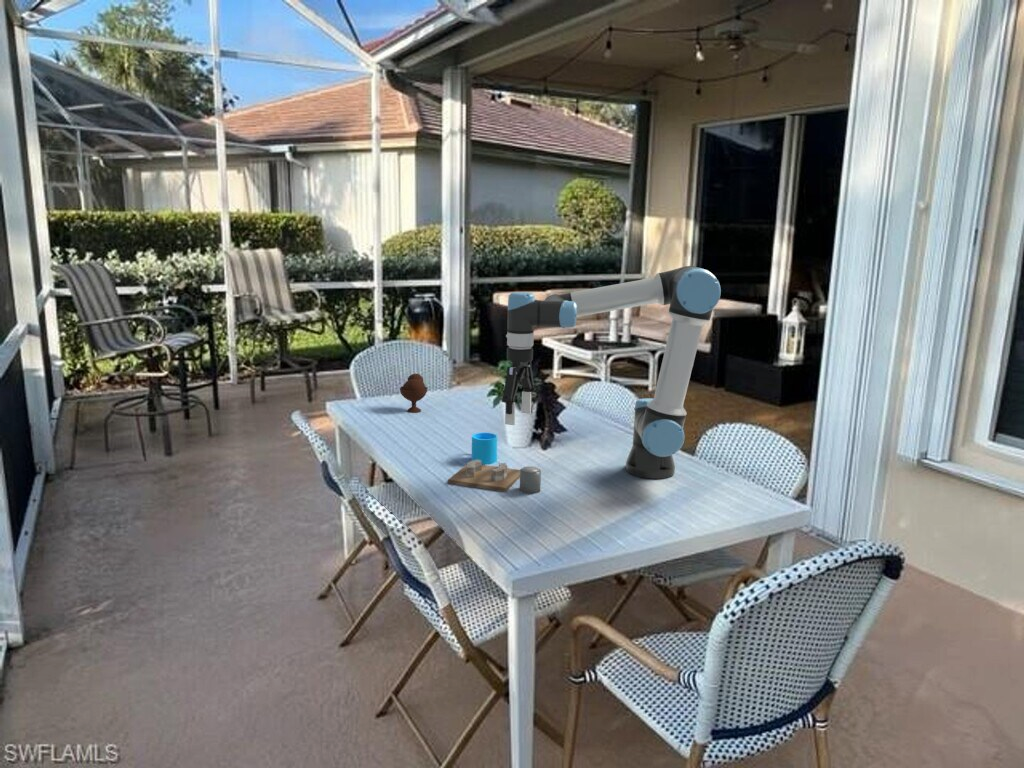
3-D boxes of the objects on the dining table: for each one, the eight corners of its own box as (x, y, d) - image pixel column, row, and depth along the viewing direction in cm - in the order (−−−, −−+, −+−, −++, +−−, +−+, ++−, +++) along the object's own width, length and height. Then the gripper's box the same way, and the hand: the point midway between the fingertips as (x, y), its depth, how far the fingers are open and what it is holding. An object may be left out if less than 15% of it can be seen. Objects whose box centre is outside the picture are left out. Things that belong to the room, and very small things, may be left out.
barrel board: (523, 474, 229) (523, 461, 228) (505, 491, 214) (506, 477, 213) (468, 466, 234) (468, 453, 233) (448, 483, 219) (448, 469, 218)
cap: (542, 488, 217) (543, 467, 216) (536, 495, 212) (537, 473, 210) (523, 485, 219) (523, 464, 218) (516, 492, 214) (517, 471, 212)
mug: (500, 462, 239) (501, 438, 237) (477, 465, 235) (477, 441, 233) (486, 451, 249) (486, 428, 247) (463, 454, 246) (463, 430, 244)
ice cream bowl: (397, 408, 300) (397, 372, 297) (425, 406, 304) (425, 370, 300) (402, 415, 290) (401, 377, 287) (430, 413, 294) (430, 376, 290)
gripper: (522, 339, 225) (520, 407, 230) (491, 352, 203) (489, 428, 207) (546, 341, 223) (543, 409, 228) (517, 355, 200) (515, 431, 205)
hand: (518, 418), depth 218 cm, fingers open, 13 cm apart
